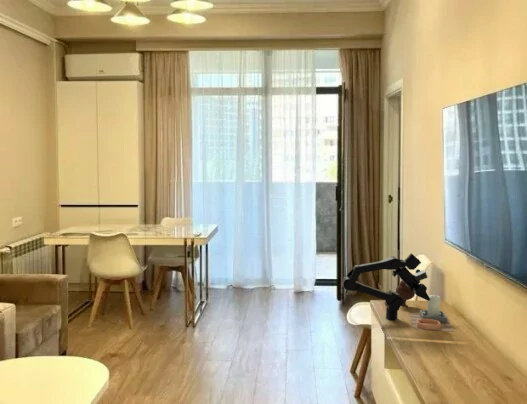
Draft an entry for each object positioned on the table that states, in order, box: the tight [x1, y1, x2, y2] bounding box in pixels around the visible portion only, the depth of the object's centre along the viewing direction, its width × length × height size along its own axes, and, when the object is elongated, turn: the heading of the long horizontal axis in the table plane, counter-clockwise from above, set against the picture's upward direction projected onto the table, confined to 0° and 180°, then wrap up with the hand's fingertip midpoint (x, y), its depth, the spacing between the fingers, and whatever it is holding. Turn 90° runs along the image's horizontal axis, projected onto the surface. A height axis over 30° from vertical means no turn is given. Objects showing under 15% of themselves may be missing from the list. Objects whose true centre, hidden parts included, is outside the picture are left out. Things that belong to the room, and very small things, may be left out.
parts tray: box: [419, 309, 448, 323], centre depth 304 cm, size 12×12×3 cm
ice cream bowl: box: [395, 280, 416, 308], centre depth 327 cm, size 11×11×15 cm
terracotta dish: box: [416, 319, 441, 331], centre depth 291 cm, size 11×11×2 cm
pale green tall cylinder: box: [426, 294, 441, 317], centre depth 303 cm, size 6×6×12 cm
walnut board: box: [408, 312, 456, 333], centre depth 298 cm, size 29×19×1 cm, turn 171°
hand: (426, 297), depth 303 cm, fingers open, 9 cm apart
